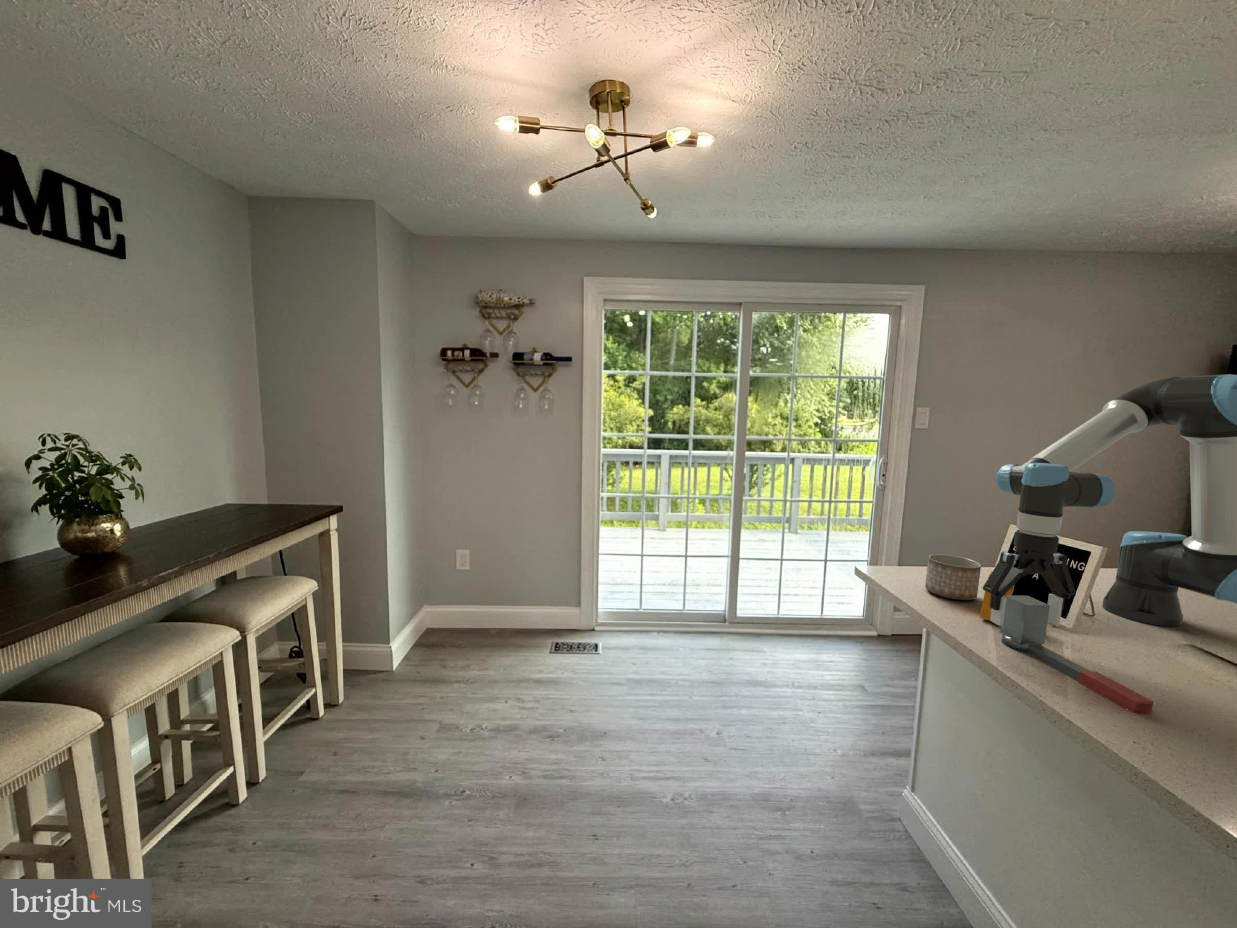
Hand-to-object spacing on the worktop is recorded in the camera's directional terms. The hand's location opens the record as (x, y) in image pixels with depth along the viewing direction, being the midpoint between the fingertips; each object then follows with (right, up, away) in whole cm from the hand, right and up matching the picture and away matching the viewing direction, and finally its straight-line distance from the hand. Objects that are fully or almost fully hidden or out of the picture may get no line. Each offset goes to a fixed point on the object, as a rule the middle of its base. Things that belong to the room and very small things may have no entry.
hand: (1024, 623), depth 113 cm
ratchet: (+1, -7, -10) cm, 12 cm away
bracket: (+7, -4, +15) cm, 17 cm away
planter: (+4, -2, +32) cm, 32 cm away
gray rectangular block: (0, -3, +1) cm, 4 cm away
